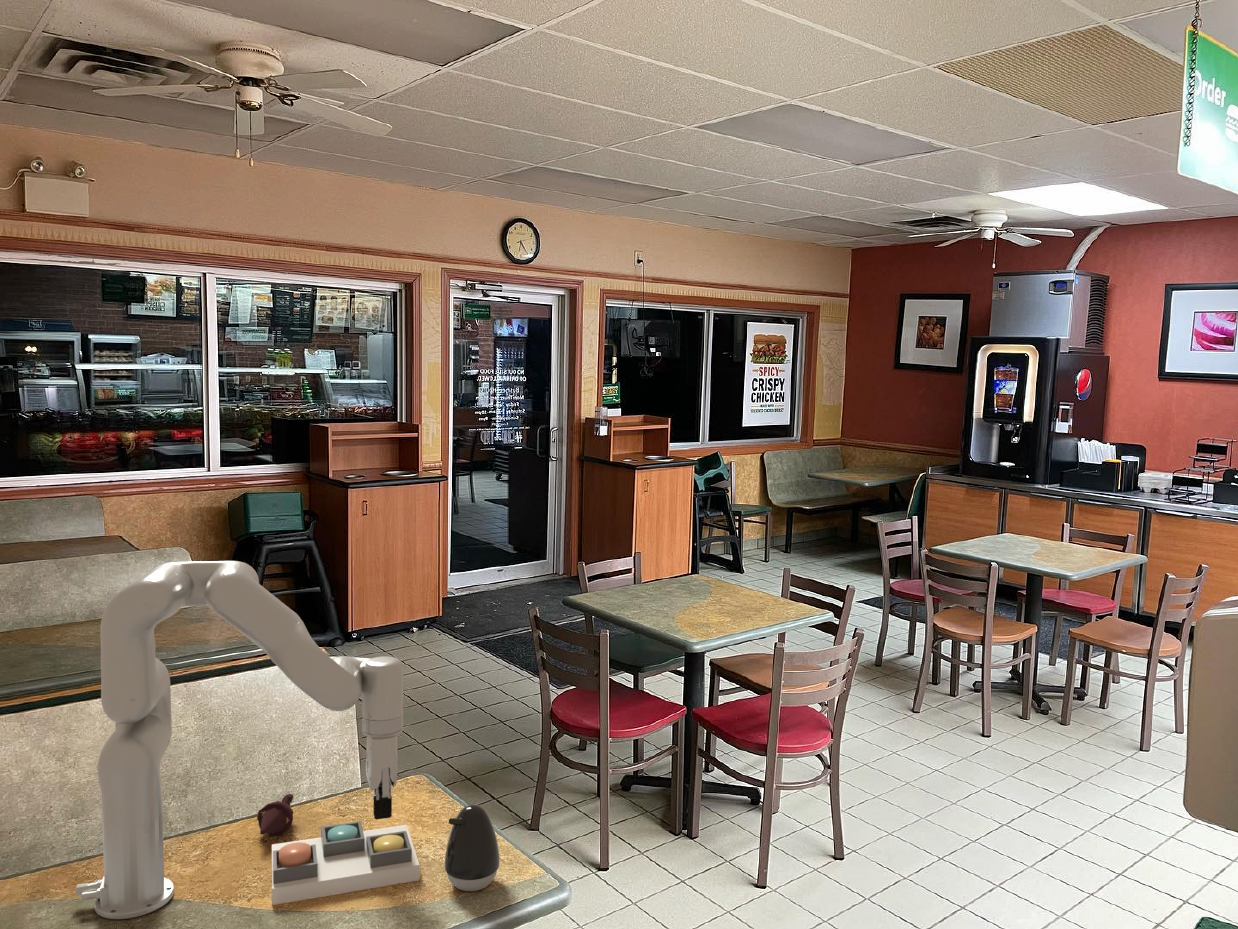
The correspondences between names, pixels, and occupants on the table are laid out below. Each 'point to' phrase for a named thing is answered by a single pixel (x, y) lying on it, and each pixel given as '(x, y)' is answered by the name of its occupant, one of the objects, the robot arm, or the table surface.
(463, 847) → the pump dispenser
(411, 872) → the button panel
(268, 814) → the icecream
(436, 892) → the table surface
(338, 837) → the button teal
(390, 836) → the button ochre
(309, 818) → the table surface
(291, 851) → the button terracotta
